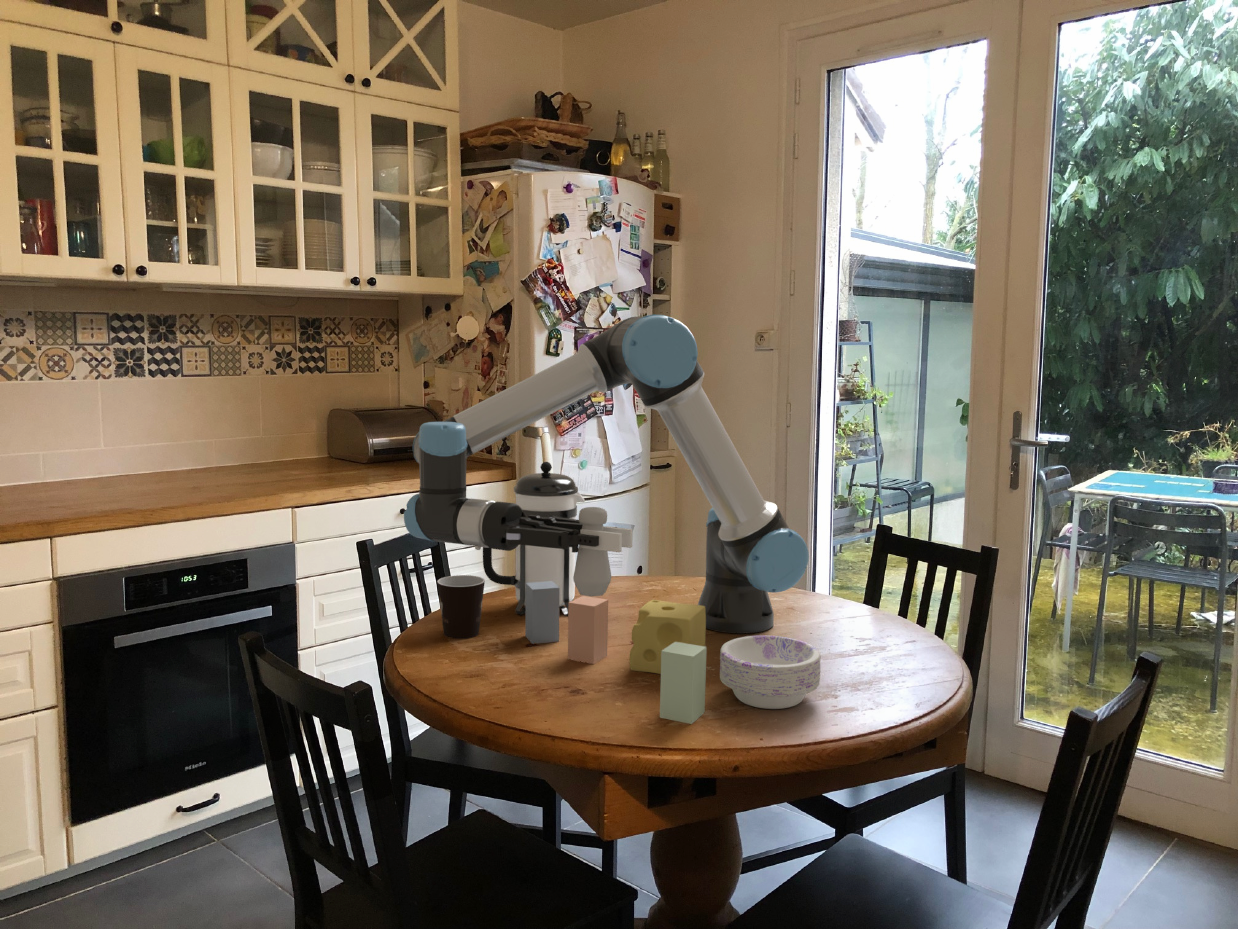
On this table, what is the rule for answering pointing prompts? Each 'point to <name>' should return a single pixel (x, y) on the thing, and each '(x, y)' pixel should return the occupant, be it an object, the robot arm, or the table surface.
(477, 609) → the coffee mug
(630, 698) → the table surface
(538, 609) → the slate block
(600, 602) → the terracotta block
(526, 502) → the coffee press
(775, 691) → the paper bowls
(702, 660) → the sage block
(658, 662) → the cheese
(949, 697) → the table surface
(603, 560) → the salt shaker
